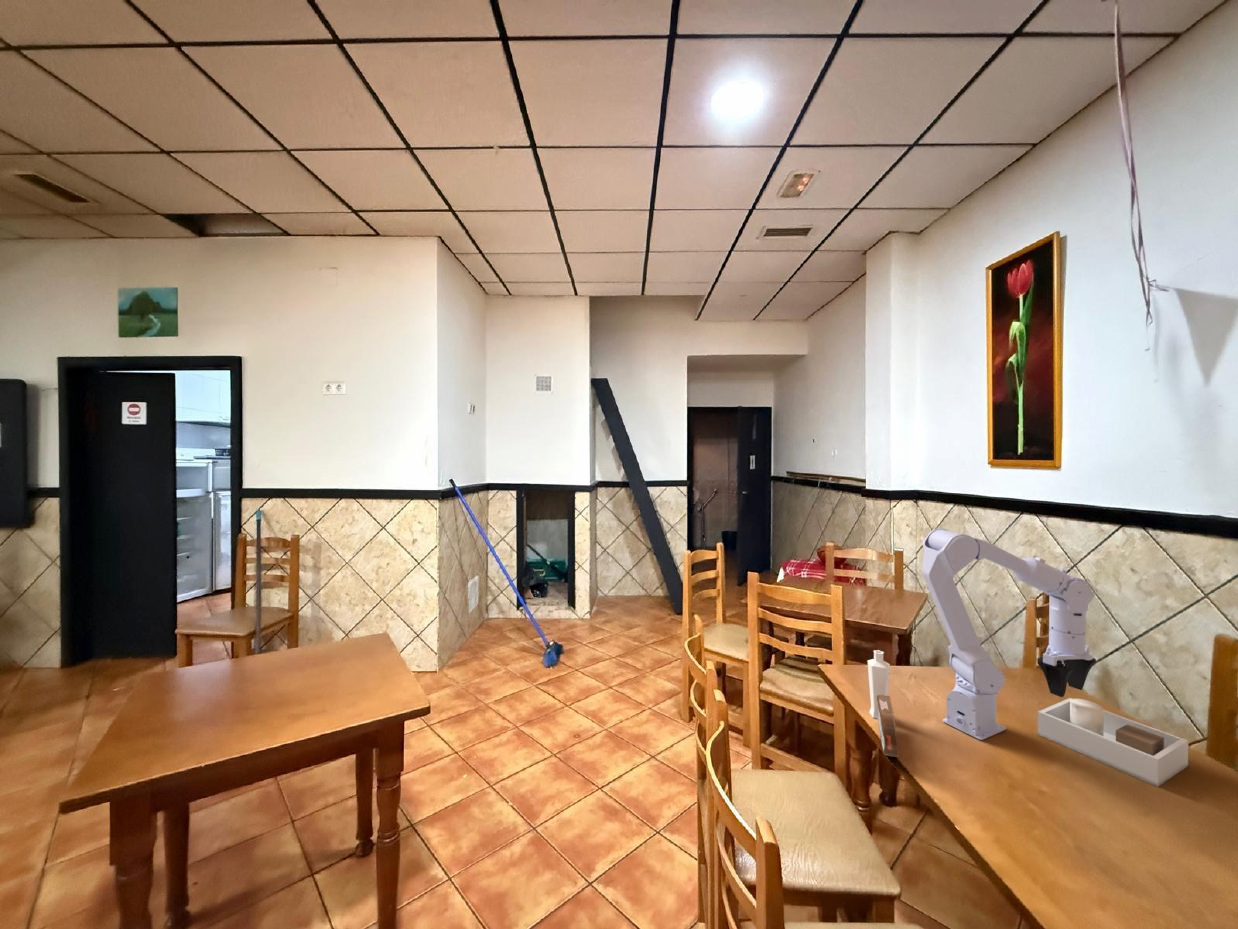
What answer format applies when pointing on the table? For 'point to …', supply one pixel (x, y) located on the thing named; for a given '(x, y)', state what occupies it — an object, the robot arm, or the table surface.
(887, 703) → the tin
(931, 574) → the robot arm
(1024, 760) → the table surface
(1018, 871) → the table surface
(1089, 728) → the ceramic cylinder
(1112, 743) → the tote
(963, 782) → the table surface
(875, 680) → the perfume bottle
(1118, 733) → the walnut cube
